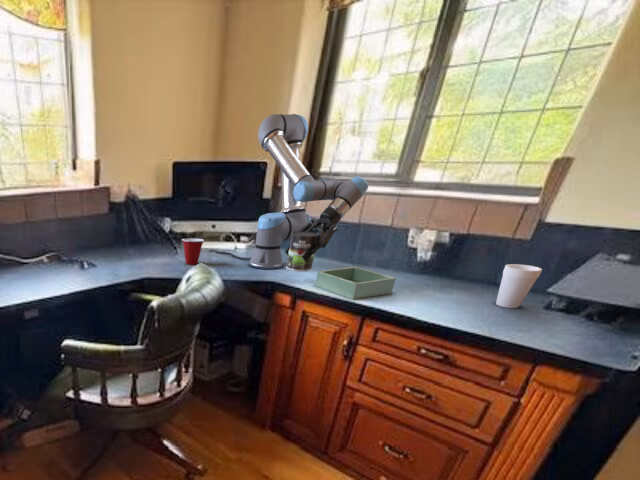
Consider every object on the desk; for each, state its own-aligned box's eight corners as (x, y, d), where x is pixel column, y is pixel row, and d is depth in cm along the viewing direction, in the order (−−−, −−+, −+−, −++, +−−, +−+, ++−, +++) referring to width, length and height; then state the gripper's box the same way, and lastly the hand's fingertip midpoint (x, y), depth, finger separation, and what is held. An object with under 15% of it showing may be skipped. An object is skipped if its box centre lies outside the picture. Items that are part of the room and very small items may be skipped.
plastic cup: (206, 262, 212) (207, 237, 206) (197, 267, 204) (198, 241, 198) (186, 260, 217) (187, 236, 211) (177, 264, 209) (178, 239, 203)
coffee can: (310, 272, 171) (317, 236, 164) (283, 270, 175) (289, 235, 168) (313, 266, 178) (320, 232, 171) (288, 264, 183) (293, 230, 176)
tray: (314, 285, 172) (317, 271, 169) (351, 280, 177) (354, 266, 174) (352, 299, 155) (356, 283, 152) (391, 293, 161) (396, 278, 158)
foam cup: (514, 311, 140) (531, 272, 134) (484, 303, 148) (499, 266, 142) (530, 306, 144) (548, 268, 137) (500, 299, 151) (515, 263, 145)
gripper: (359, 223, 163) (318, 268, 166) (318, 215, 181) (282, 256, 185) (352, 209, 158) (310, 256, 162) (310, 203, 177) (273, 245, 180)
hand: (295, 256), depth 173 cm, fingers closed on coffee can, 10 cm apart
